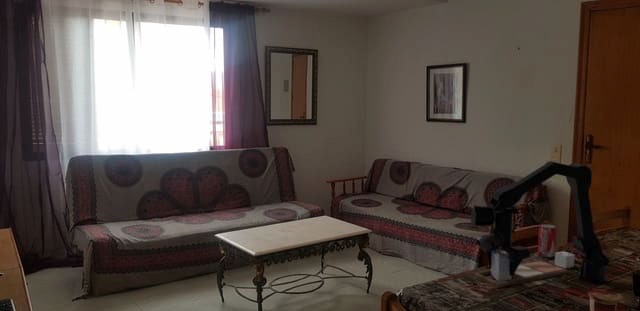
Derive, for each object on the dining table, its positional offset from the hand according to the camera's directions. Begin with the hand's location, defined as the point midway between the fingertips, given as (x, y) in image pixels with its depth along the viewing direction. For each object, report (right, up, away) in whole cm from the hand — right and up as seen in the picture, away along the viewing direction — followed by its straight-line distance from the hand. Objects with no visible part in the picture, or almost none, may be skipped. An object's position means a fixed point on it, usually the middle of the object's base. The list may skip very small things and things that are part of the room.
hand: (500, 271), depth 165 cm
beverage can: (+27, 0, +25) cm, 37 cm away
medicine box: (0, -3, 0) cm, 3 cm away
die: (+28, -1, +14) cm, 32 cm away
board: (+8, -2, +4) cm, 9 cm away
